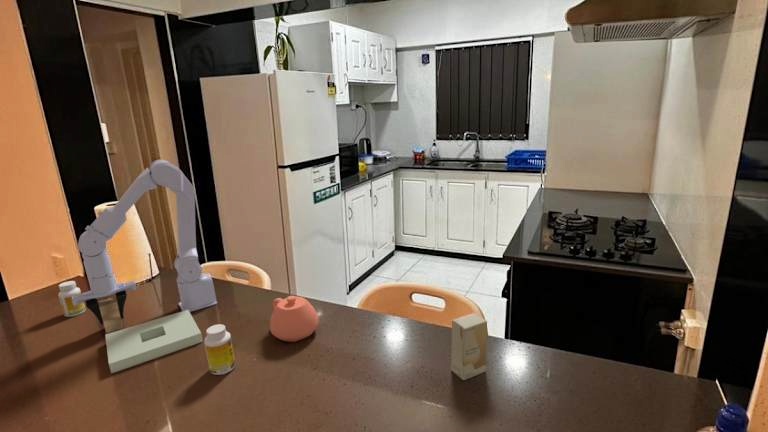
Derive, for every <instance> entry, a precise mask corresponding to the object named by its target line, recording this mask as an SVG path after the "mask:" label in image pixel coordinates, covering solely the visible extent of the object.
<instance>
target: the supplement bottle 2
mask: <svg viewBox="0 0 768 432" xmlns="http://www.w3.org/2000/svg"><path fill="white" fill-rule="evenodd" d="M203 341H204V342H203V343H204V348H205V352H206V357H207V364H208V368H209V372H210V373H211V374H212V375H216V376H221V375H225V374H227V373H229V372H231V371H232V370H233V369H234V368H235V366H236V360H235V353H234V347H233V341H232V336H231V333H230V332H229V331H227V329H226V325H224V324H219V323H218V324H213V325H212V326H209V327H208V328H207V329H206V336H205V338H204V339H203Z"/></svg>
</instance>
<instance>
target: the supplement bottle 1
mask: <svg viewBox="0 0 768 432" xmlns="http://www.w3.org/2000/svg"><path fill="white" fill-rule="evenodd" d="M58 288H59V292H58V300H59V303H60V307H61V310H62V314H63V315H64V317H67V318H70V317H76V316H80V315H83V313H84V312H86V310H87V309H86V308H87V307H86V303H85V302H83V303H79V304H78V305H75V306H73V303H72V297H73V296H76V295H79V294H82V291H81V289H80V287H77V283H76V281H75V280H69V281H64V282H61V283H60V284H58Z"/></svg>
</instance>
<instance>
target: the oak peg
mask: <svg viewBox="0 0 768 432" xmlns="http://www.w3.org/2000/svg"><path fill="white" fill-rule="evenodd" d="M98 304H99V308H100V312H101V316H102V319H103V323H104V324H103V326H104V330H105V334H109V333H113V332H116V331H119V330H122V329H124V325H123V321H122V320H123V319H121V317H120V313H119V306H118V302H117V299H116V296H115V297H110V298H107V299H103V300H99V301H98Z"/></svg>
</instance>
